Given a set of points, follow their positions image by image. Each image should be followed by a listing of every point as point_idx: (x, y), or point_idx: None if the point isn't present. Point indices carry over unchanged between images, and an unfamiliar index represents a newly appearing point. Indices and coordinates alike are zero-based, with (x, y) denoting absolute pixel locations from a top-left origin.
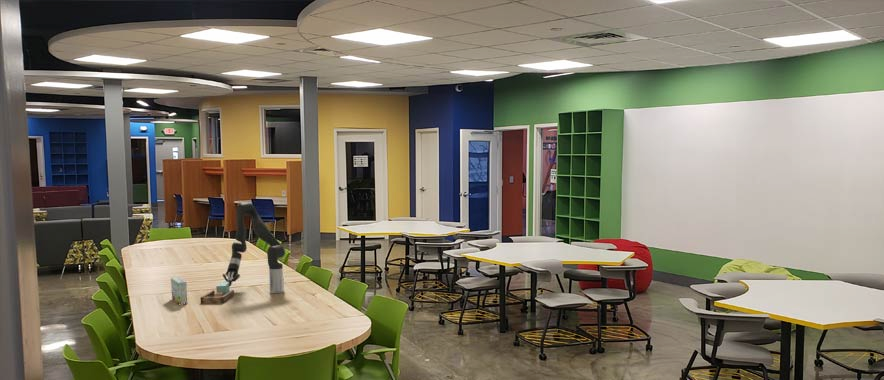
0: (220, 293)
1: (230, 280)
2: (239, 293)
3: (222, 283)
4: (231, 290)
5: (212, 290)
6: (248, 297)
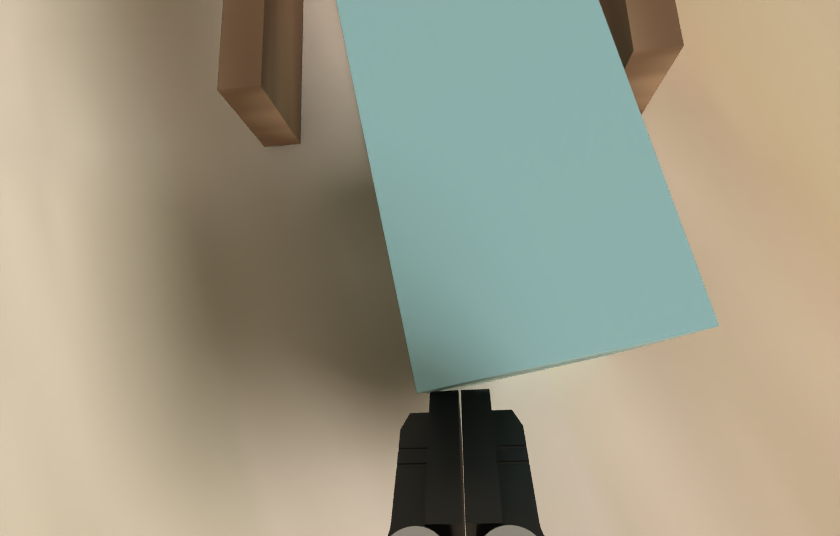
0: None
1: (416, 528)
2: (226, 333)
3: (522, 111)
4: (260, 70)
5: (675, 38)
6: (22, 76)
